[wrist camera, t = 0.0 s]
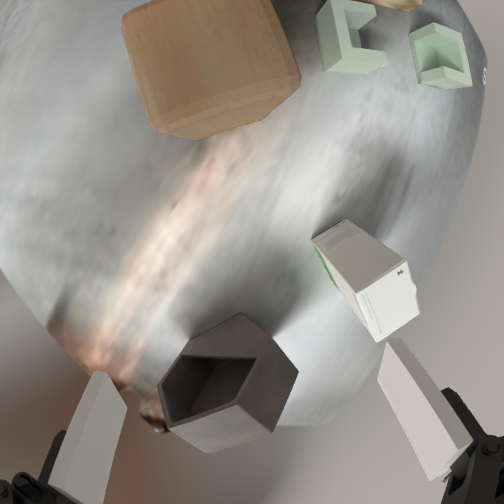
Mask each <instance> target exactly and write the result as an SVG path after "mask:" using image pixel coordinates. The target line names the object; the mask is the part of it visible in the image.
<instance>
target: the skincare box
mask: <svg viewBox="0 0 504 504" xmlns="http://www.w3.org/2000/svg"><path fill="white" fill-rule="evenodd" d="M311 242H312V244H313V246H314V248H315V250H316V252H317V253H318V255H319V257H320V259H321V261H322V263H323V265H324V266H325V268H326V270H327V272H328V274H329V276H330V278H331V280H332V282H333V283H334V284H335V286H336V287H337V288H338V290H339V291H340V292H341V294H342V295H343V296H344V298H345V299H346V300H347V302H348V303H349V304H350V306H351V307H352V309H353V310H354V311H355V313H356V314H357V315H358V317H359V318H360V320H361V321H362V322H363V324H364V325H365V326H366V328H367V329H368V331H369V332H370V333H371V335H372V336H373V338H374V339H375V341H376V342H379V341H380V340H382V339H384V338H385V337H387V336H388V335H390V334H391V333H392V332H394V331H395V330H397V329H398V328H400V327H401V326H402V325H404V324H405V323H407V322H408V321H410V320H411V319H412V318H414V317H415V316H417V315H418V314H420V311H419V306H418V301H417V296H416V286H415V284H414V283H413V281H412V277H411V274H410V270H409V267H408V263H407V261H406V260H405V259H404V258H402V257H401V256H399V255H398V254H397V253H395V252H394V251H392V250H391V249H390V248H388V247H387V246H385V245H384V244H382V243H381V242H380V241H378V240H377V239H375V238H374V237H372V236H371V235H369V234H368V233H367V232H365V231H364V230H362V229H361V228H359V227H358V226H356V225H355V224H353V223H352V222H350V221H349V220H348V219H345V220H343V221H341V222H340V223H338V224H336V225H335V226H333V227H331V228H330V229H328V230H326V231H325V232H323V233H322V234H320V235H318V236H317V237H315V238H313V239H312V240H311Z"/></svg>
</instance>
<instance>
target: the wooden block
mask: <svg viewBox="0 0 504 504" xmlns="http://www.w3.org/2000/svg"><path fill="white" fill-rule="evenodd" d="M121 29H122V33H123V37H124V40H125V44H126V48H127V52H128V55H129V59H130V62H131V66H132V69H133V73H134V76H135V80H136V83H137V86H138V90H139V93H140V96H141V99H142V103H143V106H144V109H145V112H146V115H147V118H148V121H149V124H150V125H151V126H152V127H153V128H154V129H155V130H156V131H157V132H162V133H167V134H171V135H176V136H180V137H184V138H189V139H193V140H200V139H203V138H206V137H209V136H212V135H215V134H218V133H221V132H224V131H227V130H230V129H233V128H236V127H240V126H243V125H246V124H250V123H253V122H257V121H260V120H262V119H264V118H265V117H266V116H267V115H268V114H269V113H271V112H272V111H273V110H274V109H275V108H276V107H277V106H278V105H280V104H281V103H282V102H283V101H284V100H285V99H286V98H288V97H289V96H290V95H291V94H292V93H294V92H295V91H296V90H297V89H298V88H299V87H300V84H301V74H300V71H299V69H298V66H297V63H296V61H295V58H294V55H293V53H292V50H291V47H290V45H289V42H288V40H287V37H286V35H285V33H284V30H283V28H282V25H281V23H280V21H279V18H278V16H277V14H276V11H275V9H274V7H273V5H272V3H271V0H153V1H151V2H148V3H146V4H143V5H141V6H138V7H136V8H134V9H132V10H129V11H128V12H127V13H126V14H124V15H123V16H122V23H121Z"/></svg>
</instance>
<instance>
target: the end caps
mask: <svg viewBox="0 0 504 504" xmlns="http://www.w3.org/2000/svg"><path fill="white" fill-rule="evenodd" d="M375 16H377V14H376V10H375V7H374V5H372V4H367V3H362V2H357V1H351V0H327V1H326V3H325V4H324V5H323V7H322V8H321V9H320V11H319V12H318V14H317V15H316V16H315V18H314V20H315V25H316V31H317V36H318V42H319V48H320V54H321V61H322V67H323V73H339V74H352V75H365V74H367V73H370V72H372V71H374V70H376V69H379V68H381V67H383V66H385V65H387V60H386V55H385V52H382V51H376V50H370V49H363V48H362V47H361V42H360V37H359V32H358V30H359V29H360V28H361V27H362V26H364V25H365V24H366V23H368V22H369V21H370V20H372V19H373V18H374V17H375ZM409 38H410V43H411V47H412V52H413V57H414V62H415V68H416V74H417V80H418V84H422V85H426V86H431V87H435V88H439V89H444V90H446V89H453V88H461V87H470V86H472V80H471V75H470V69H469V64H468V59H467V55H466V51H465V46H464V42H463V39H462V35H461V33H459V32H457V31H454V30H452V29H449V28H447V27H445V26H442V25H439V24H437V23H434V22H433V23H431V24H429V25H426V26H424V27H422V28H420V29H418V30H416V31H414V32H412V33H410V34H409Z"/></svg>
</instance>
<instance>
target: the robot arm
mask: <svg viewBox="0 0 504 504" xmlns="http://www.w3.org/2000/svg"><path fill="white" fill-rule="evenodd" d="M377 381H378V383H379V385H380V386H381V388H382V390H383V392H384V394H385V395H386V397H387V399H388V401H389V403H390V404H391V407H392V408H393V410H394V412H395V414H396V416H397V418H398V420H399V421H400V423H401V425H402V427H403V429H404V431H405V433H406V435H407V437H408V439H409V441H410V443H411V445H412V447H413V449H414V451H415V453H416V455H417V457H418V459H419V460H420V463H421V465H422V467H423V469H424V471H425V473H426V475H427V477H428V479H429V481H430V480H432V479H434V478H436V477H438V476H440V475H441V474H443V473H445V472H446V470H447V469H448V468H449V467H450V468H451V470H452V471H451V472H450V473H449V474H448V475H447V476H446V477H445V478H444V480H443V482H446V481H447V480H448V479H449V480H448V483H447V487H446V490H445V493H444V496H443V499H442V502H441V504H504V436H502V437H497V436H493V435H487V434H486V433H485V432H484V431H483V429H482V428H481V426H480V425H479V424H478V422H477V420H476V419H475V417H474V416H473V415H472V413H471V412H470V410H468V408H467V406H466V405H465V403H463V401H462V399H461V398H460V397H459V395H458V394H457V393H456V392H454V391H453V390H452V389H450V388H449V387H448V388H446V389H443V390H441V391H440V390H439V388H438V387H437V386H436V384H435V383H434V381H433V380H432V379H431V377H430V376H429V374H428V373H427V372H426V370H425V369H424V368H423V366H422V365H421V364H420V362H419V361H418V360H417V358H416V357H415V356H414V354H413V353H412V352H411V351H410V349H409V348H408V347H407V345H406V344H405V343H404V341H403V340H402V339H401V338H400V337H398V338H394V339H390V340H387V341H386V346H385V350H384V354H383V359H382V363H381V367H380V371H379V375H378V379H377ZM126 411H127V407H126V405H125V403H124V402H123V400H122V398H121V396H120V395H119V393H118V391H117V390H116V388H115V386H114V384H113V382H112V381H111V379H110V377H109V375H108V373H107V372H98V371H94V372H93V374H92V377H91V379H90V381H89V383H88V385H87V387H86V389H85V391H84V394H83V396H82V398H81V400H80V402H79V405H78V407H77V409H76V411H75V414H74V416H73V418H72V421H71V423H70V426H69V428H68V430H67V431H64V430H61V431H60V432H59V433H58V434H57V435H56V436H55V438H54V440H53V443H52V445H51V448H50V450H49V452H48V454H49V455H47V458H46V460H45V463H44V465H43V468H42V471H41V474H40V476H39V479H38V481H37V480H36V479H34V478H33V477H32V476H31V475H29V474H28V473H25V472H19V473H18V474H16V475H15V476H14V478H13V480H12V483H11V484H12V485H11V484H9V483H8V482H7V481H6V480H0V504H103V500H104V495H105V491H106V486H107V482H108V477H109V473H110V469H111V465H112V461H113V457H114V454H115V450H116V446H117V442H118V439H119V435H120V432H121V428H122V425H123V421H124V418H125V414H126Z"/></svg>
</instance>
